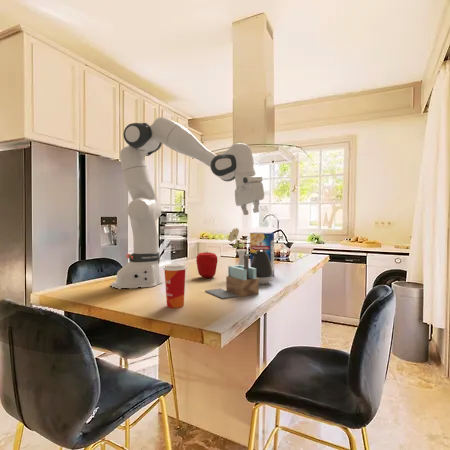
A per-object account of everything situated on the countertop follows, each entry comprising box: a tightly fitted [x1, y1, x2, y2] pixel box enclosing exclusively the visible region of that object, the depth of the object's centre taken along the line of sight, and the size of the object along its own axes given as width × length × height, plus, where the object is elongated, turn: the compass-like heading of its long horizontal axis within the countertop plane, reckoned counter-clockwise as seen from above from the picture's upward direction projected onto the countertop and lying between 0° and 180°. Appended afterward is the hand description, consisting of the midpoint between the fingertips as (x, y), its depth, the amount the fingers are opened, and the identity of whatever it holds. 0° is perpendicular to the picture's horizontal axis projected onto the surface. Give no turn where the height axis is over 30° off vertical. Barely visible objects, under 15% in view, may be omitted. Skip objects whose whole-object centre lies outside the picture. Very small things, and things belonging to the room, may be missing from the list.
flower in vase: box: [227, 227, 247, 266], centre depth 157 cm, size 13×11×25 cm
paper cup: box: [163, 263, 187, 309], centre depth 107 cm, size 8×8×14 cm
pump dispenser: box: [249, 250, 273, 285], centre depth 143 cm, size 10×10×15 cm
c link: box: [227, 264, 256, 280], centre depth 125 cm, size 11×6×4 cm, turn 31°
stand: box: [225, 254, 260, 297], centre depth 125 cm, size 8×11×15 cm
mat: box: [204, 288, 240, 300], centre depth 123 cm, size 7×14×1 cm, turn 31°
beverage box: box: [249, 232, 275, 277], centre depth 163 cm, size 7×11×22 cm, turn 67°
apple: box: [195, 251, 218, 279], centre depth 158 cm, size 10×10×14 cm
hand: (251, 213), depth 133 cm, fingers open, 8 cm apart
